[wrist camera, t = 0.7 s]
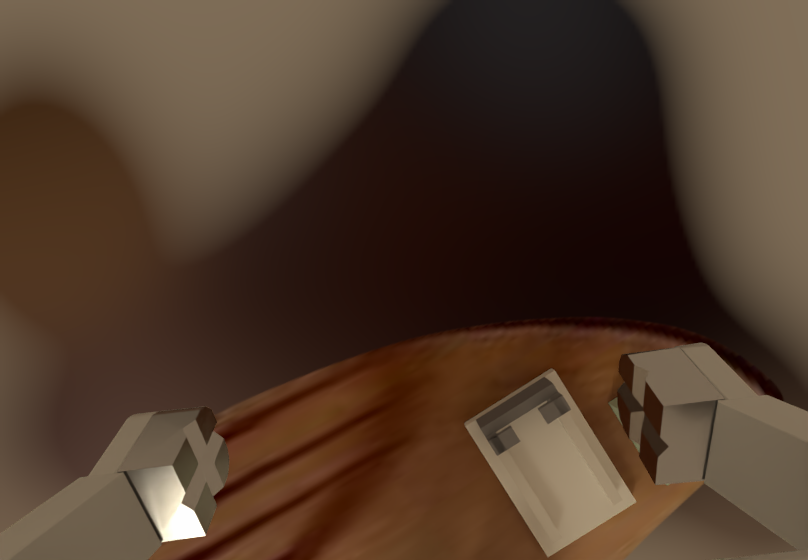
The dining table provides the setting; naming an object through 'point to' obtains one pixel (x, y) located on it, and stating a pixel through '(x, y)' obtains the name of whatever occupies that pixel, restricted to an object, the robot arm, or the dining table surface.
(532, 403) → the beige shallow tray
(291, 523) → the dining table surface
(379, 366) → the dining table surface
